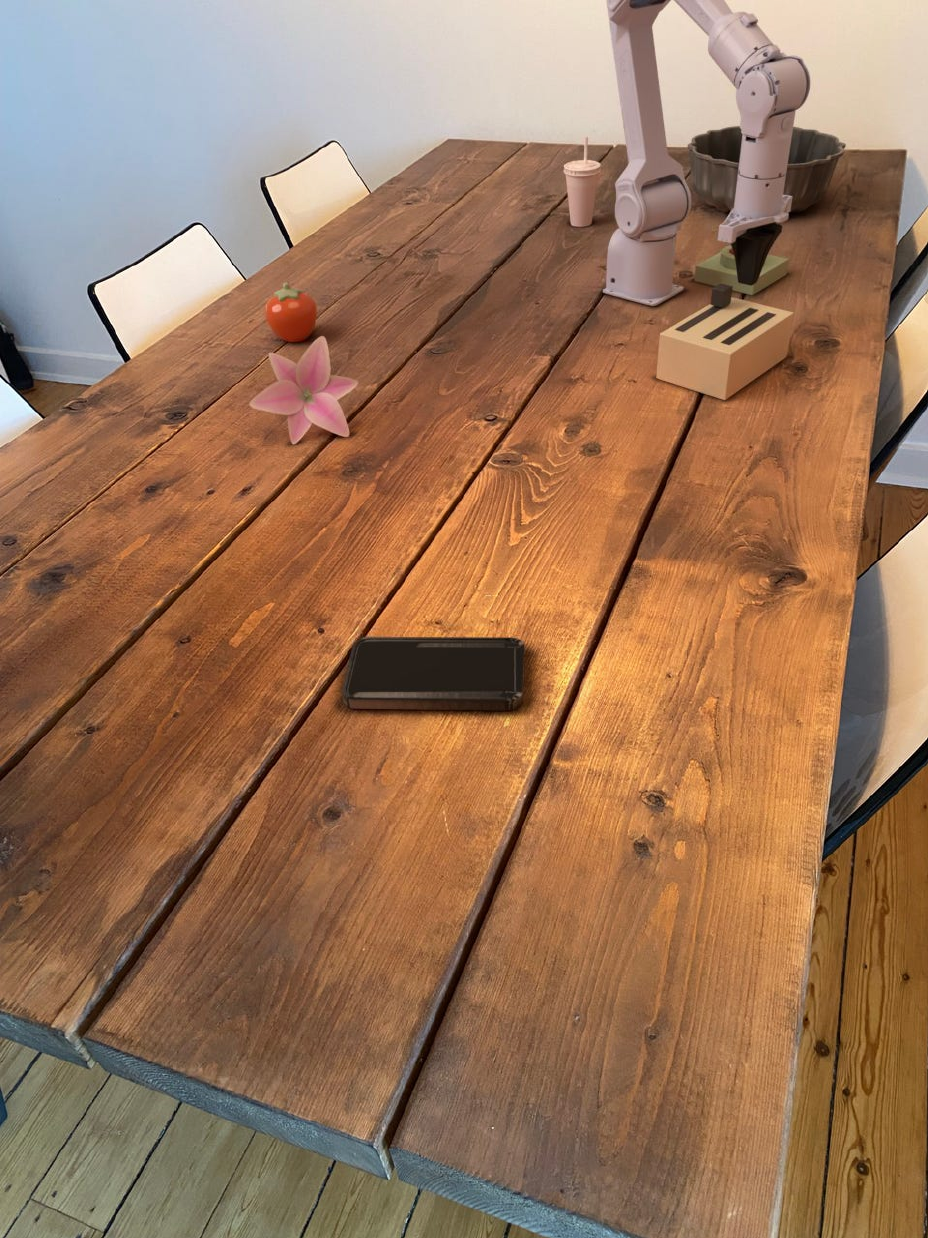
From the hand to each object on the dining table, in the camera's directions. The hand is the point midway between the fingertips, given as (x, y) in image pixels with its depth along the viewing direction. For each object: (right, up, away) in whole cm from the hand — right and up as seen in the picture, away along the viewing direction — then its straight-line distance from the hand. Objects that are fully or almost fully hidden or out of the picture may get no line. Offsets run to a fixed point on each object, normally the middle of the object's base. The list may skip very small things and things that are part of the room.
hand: (747, 282), depth 125 cm
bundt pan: (+16, +31, +46) cm, 58 cm away
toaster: (-4, -12, -3) cm, 13 cm away
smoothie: (-17, +26, +43) cm, 53 cm away
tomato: (-62, -4, +13) cm, 63 cm away
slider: (-4, -4, -3) cm, 6 cm away
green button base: (+5, +8, +20) cm, 22 cm away
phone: (-40, -49, -44) cm, 77 cm away
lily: (-56, -21, -9) cm, 61 cm away
